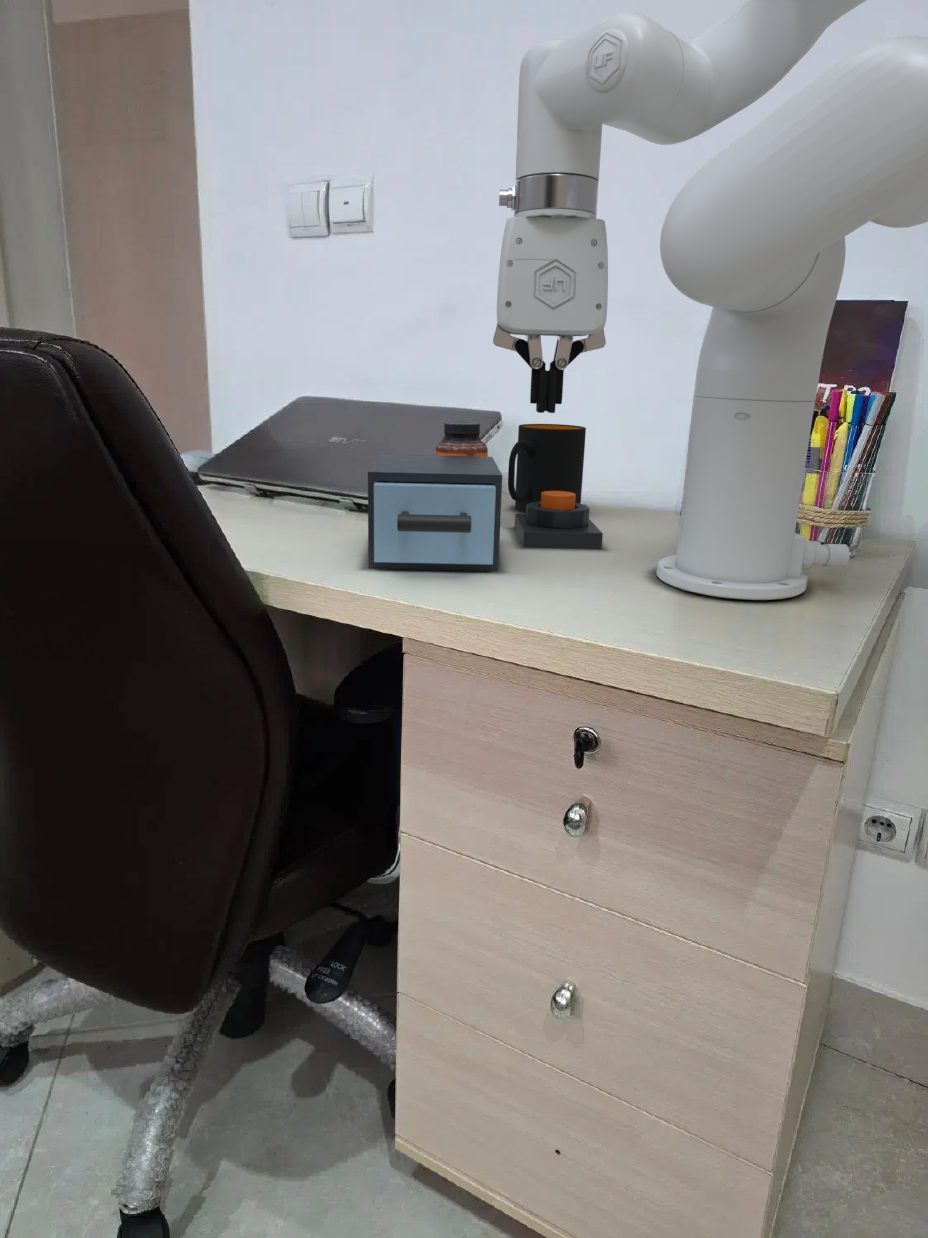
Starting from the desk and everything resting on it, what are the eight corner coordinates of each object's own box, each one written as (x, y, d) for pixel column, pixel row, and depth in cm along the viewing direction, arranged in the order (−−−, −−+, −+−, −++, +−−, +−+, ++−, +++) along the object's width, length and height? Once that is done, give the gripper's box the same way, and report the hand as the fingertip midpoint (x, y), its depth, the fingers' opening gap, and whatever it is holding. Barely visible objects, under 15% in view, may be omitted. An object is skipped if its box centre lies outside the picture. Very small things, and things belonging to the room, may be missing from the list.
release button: (571, 507, 89) (572, 491, 89) (577, 513, 86) (578, 496, 85) (538, 506, 89) (539, 490, 89) (542, 512, 86) (543, 495, 85)
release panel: (584, 529, 93) (587, 499, 92) (601, 549, 84) (604, 515, 83) (514, 528, 93) (515, 497, 92) (523, 547, 83) (524, 513, 82)
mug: (481, 512, 102) (484, 426, 99) (541, 502, 110) (546, 422, 107) (534, 522, 97) (539, 431, 94) (593, 510, 105) (599, 427, 102)
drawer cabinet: (498, 571, 74) (502, 474, 71) (368, 568, 74) (367, 471, 71) (489, 539, 87) (492, 456, 84) (378, 537, 87) (378, 453, 84)
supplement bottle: (487, 518, 98) (491, 420, 95) (484, 528, 93) (487, 424, 89) (437, 516, 99) (439, 418, 95) (431, 525, 93) (432, 422, 90)
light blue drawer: (496, 577, 68) (499, 495, 66) (370, 574, 68) (369, 492, 66) (485, 535, 84) (487, 468, 82) (383, 533, 84) (382, 465, 82)
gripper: (474, 195, 72) (469, 412, 77) (646, 199, 72) (628, 416, 77) (473, 210, 79) (468, 408, 84) (629, 213, 79) (615, 411, 84)
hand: (545, 411), depth 81 cm, fingers closed
